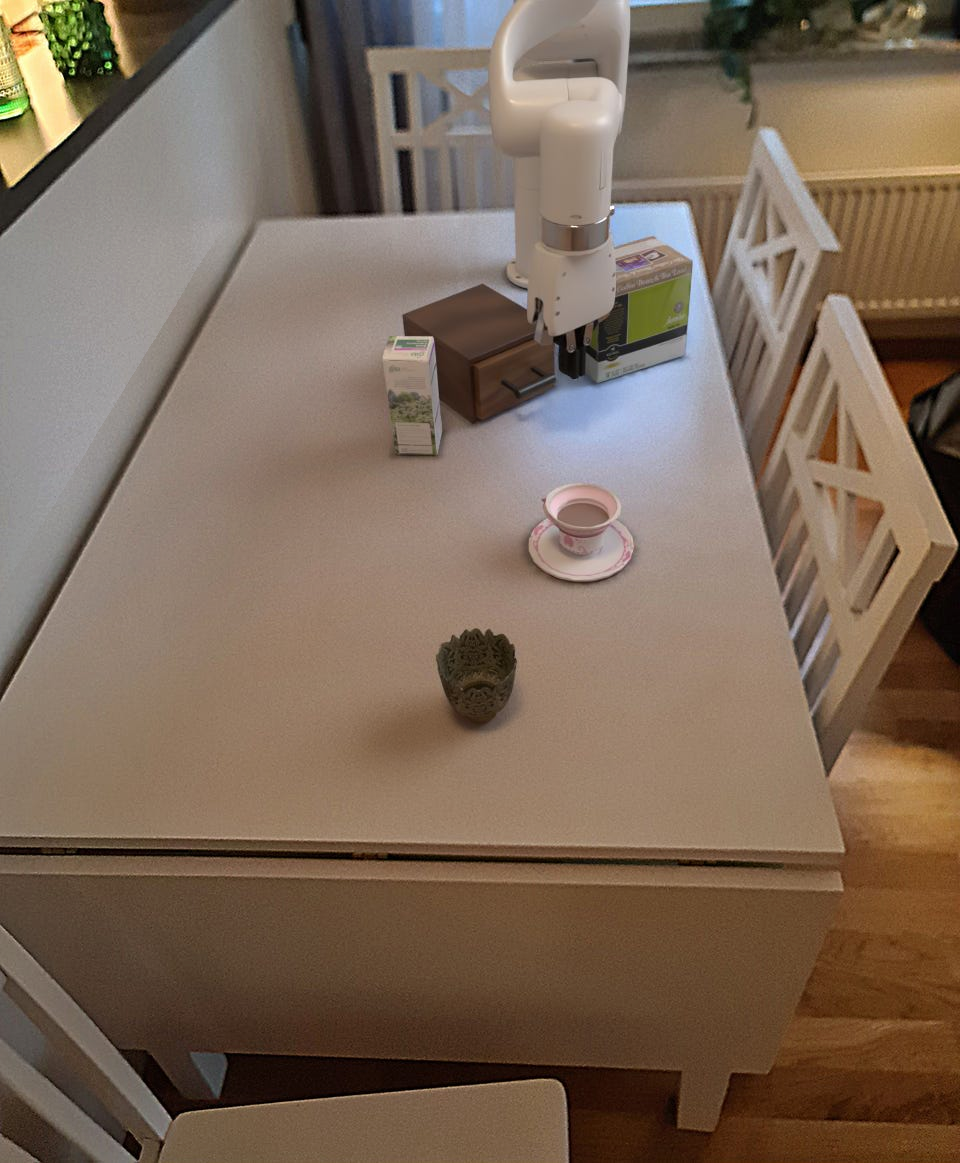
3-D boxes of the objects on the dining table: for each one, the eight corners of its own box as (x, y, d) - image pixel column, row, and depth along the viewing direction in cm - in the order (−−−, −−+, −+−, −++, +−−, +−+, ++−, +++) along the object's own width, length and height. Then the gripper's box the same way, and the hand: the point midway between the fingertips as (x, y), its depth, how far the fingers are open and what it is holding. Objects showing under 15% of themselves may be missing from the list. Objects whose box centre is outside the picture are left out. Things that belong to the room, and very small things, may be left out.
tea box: (647, 328, 143) (655, 232, 133) (686, 357, 137) (697, 259, 127) (560, 354, 139) (561, 257, 129) (595, 386, 133) (599, 287, 122)
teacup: (649, 530, 110) (653, 488, 106) (609, 596, 102) (611, 554, 98) (555, 503, 114) (555, 462, 110) (510, 564, 107) (508, 522, 103)
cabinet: (552, 387, 133) (552, 324, 126) (473, 424, 127) (468, 359, 121) (485, 344, 142) (482, 283, 136) (409, 376, 137) (401, 314, 130)
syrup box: (443, 431, 126) (434, 333, 116) (437, 457, 122) (427, 358, 112) (401, 430, 127) (388, 333, 117) (394, 457, 123) (380, 358, 113)
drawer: (575, 399, 129) (576, 348, 123) (501, 434, 124) (498, 382, 118) (491, 346, 140) (489, 296, 135) (421, 376, 135) (415, 325, 130)
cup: (440, 685, 95) (433, 630, 89) (514, 678, 95) (511, 623, 89) (444, 746, 89) (438, 691, 84) (522, 738, 89) (521, 683, 84)
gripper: (603, 197, 108) (597, 339, 121) (499, 237, 102) (504, 382, 115) (649, 218, 104) (638, 364, 117) (543, 261, 98) (543, 409, 111)
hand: (571, 372), depth 116 cm, fingers closed
